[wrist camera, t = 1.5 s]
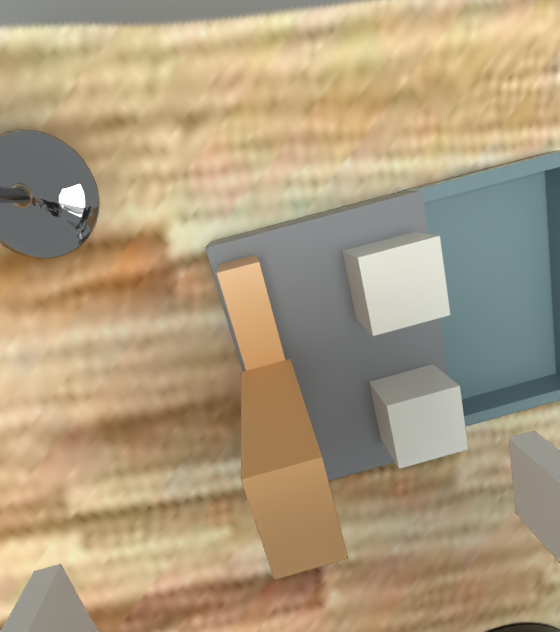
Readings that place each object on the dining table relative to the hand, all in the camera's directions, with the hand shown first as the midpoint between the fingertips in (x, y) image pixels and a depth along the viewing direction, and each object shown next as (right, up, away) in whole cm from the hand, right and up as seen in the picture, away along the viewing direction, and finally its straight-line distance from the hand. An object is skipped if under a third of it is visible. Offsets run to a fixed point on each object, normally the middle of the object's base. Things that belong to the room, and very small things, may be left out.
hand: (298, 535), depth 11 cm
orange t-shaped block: (-1, +3, +12) cm, 12 cm away
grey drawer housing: (+3, +5, +15) cm, 17 cm away
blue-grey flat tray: (+14, +8, +16) cm, 22 cm away
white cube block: (+7, +1, +13) cm, 15 cm away
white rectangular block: (+5, +8, +11) cm, 14 cm away
